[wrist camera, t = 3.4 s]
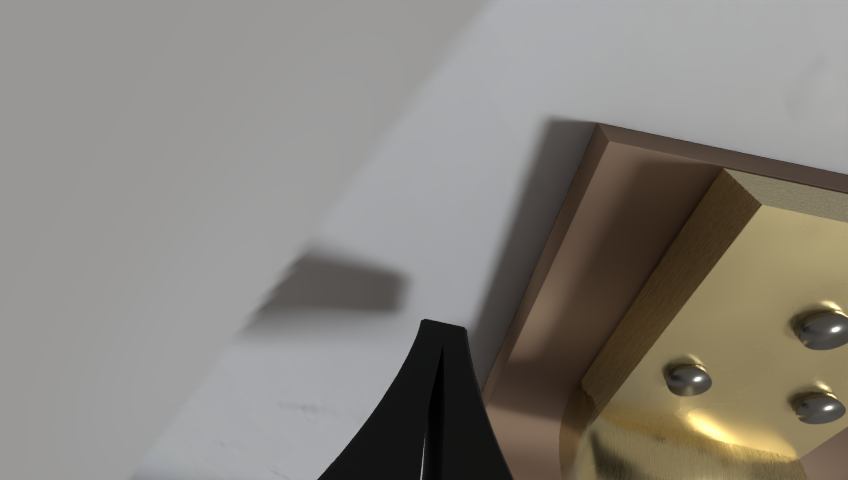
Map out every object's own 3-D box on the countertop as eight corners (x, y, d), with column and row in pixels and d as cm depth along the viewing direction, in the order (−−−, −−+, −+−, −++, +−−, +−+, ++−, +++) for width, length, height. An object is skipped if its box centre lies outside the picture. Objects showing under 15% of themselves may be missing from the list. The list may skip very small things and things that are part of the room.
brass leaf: (712, 456, 15) (757, 559, 13) (554, 421, 15) (566, 517, 13) (994, 225, 9) (1200, 337, 6) (723, 168, 9) (816, 256, 6)
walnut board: (936, 558, 20) (959, 589, 19) (455, 452, 20) (453, 477, 19) (1575, 327, 10) (1692, 368, 9) (597, 122, 10) (609, 141, 9)
